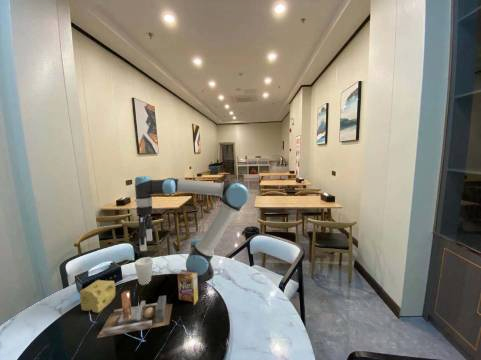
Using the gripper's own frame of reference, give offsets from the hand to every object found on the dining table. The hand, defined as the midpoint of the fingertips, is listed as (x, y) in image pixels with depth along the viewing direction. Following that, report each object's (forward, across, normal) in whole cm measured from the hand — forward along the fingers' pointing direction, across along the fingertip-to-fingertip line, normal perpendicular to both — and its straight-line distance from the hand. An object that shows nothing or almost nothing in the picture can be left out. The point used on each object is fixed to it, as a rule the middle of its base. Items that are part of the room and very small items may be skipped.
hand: (146, 245), depth 105 cm
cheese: (+27, +3, -23) cm, 36 cm away
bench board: (+27, +20, 0) cm, 34 cm away
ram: (+25, +21, -2) cm, 32 cm away
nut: (+25, +20, +4) cm, 32 cm away
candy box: (+27, +12, +21) cm, 36 cm away
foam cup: (+27, -12, -5) cm, 30 cm away
